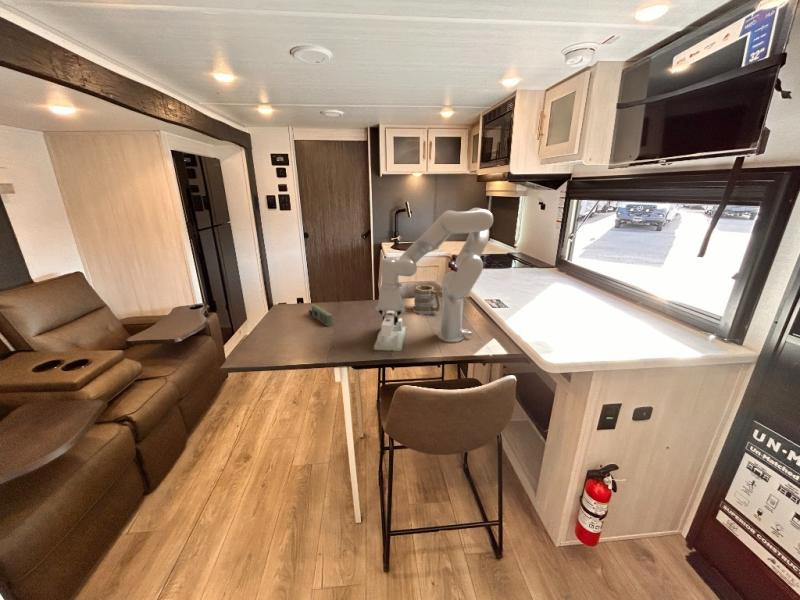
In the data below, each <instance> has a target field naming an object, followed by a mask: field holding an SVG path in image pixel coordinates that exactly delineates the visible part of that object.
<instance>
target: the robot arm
mask: <svg viewBox="0 0 800 600" xmlns="http://www.w3.org/2000/svg"><path fill="white" fill-rule="evenodd" d="M493 224H494V215H493V213H492V212H491V211H489V210H488V209H486V208H481V207H473V208H471V209H469V210H467V211H466V210H465V211H455V210H446V211H444V212H443V213H442V214H441V215H440V216H439V217H438V218H437V219H436V220H435V221H434V222H433V223H432V224H431V225H430V227H428V228H427V230H426V231H425V232H424V233H423V234H422V235H421V236H419V237H418V239H417V240H415V241H414V242H413V243H412V244H411V245H410V246H409V247H408V248H407V249H406V250H405V251H404V252H403V253H402V254H401V255H400V257H399V259H397V257H384V258H382V259H381V261H380V264H381V265H380V266H381V267H380V269H381V271H380V273H381V275H380V276H381V287H380V289H379V293H378V295H379V296H378V303H377V305H376V306H375V308H374V310H375V311H377V312H378V313H379V314H380V315H381V317H382V321H383V320H384V318H385V315H386V313H387V311H394V313H395V317H394V325H396V324H398V321H399V318H398V317H399V316H400V315H401V314H402V313H405V311H406V307H405V306H404V305H403V302H402V300H403V299H402V291H401V290H402V289H401V287H402V286H403V284H402V283H400V280H399V279H400V278H399V276H401V277H412V276H413V275H416V273H417V270H418V267H417V263H418V262H419V261H420V260H421V259H422V258H423V257H424V256H425V255H427V254H428V253H430V252H433V251H434V252H435V251H436V250H437V249H438V248H440V247H441V246H442V244H444V242H445V241H446V240H447V239H448V238H450V236H451V235H452V234H457V235H458V234H459V235H461V234H468V236H467V238H466V240H465V243H464V245H463V246H462V247H461V250H460V252H459V253H458V254H457V256H456V259H455V266H456V268H457V270H456V271H455V270H452V271H449V272H447V273H445V274H444V276H442V280H441V290H442V295H441V298H442V299H441V315H440V317H441V318H440V319H441V321H440V330H439V331H437V333H436V334H437V336H436V337H437V338H438V339H439V340H440V341H443V342H446V343H459V342H461V341H463V340H464V339H465V336H472V331H471V330H470V331H469V329H466V328H465V329H464V328H463V326H462V324H463V309H464V298H466V297H467V296H468V295H469V294H470V293H471V292H472V291H471V290H472V289H473V288H474V286H475V284H476V283H477V281H478V280H479V278H480V276H481V275H482V273H483V269H484V262H483V260H482V258H481V256H482V254H483V252H484V251H485V248H486V247H487V244H488V242H489V239H490V238H489V237H490V228H491V227H492V226H493Z"/></svg>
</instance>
